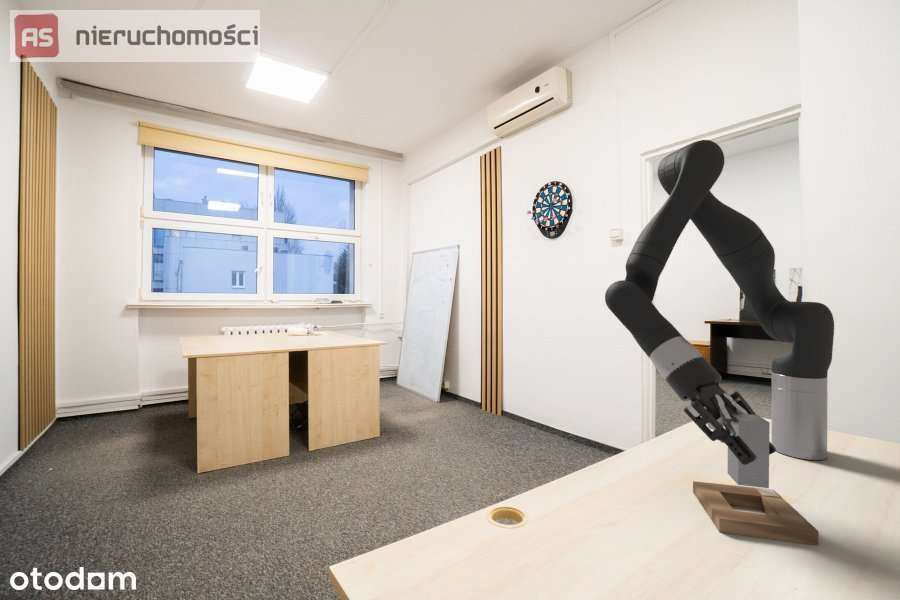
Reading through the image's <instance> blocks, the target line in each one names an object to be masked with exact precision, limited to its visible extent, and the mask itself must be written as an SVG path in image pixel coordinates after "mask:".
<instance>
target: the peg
mask: <svg viewBox="0 0 900 600" xmlns="http://www.w3.org/2000/svg"><path fill="white" fill-rule="evenodd" d="M729 414H730V417H731V419H732V421H731V425H732V427H733V428H734V430H735V432H736V436H739V437H740V438H741V439H742V440H743V441H744V443H745V444H746V445H747V446H748V447H749V448H750V450H751V451H752V452H753V453H754V454H755V455H756V460H755V461H753V462H751V463H749V464H747V465H744V464H742V463H741V462H740V461H739V460H738V458H737V457H736V456H735V455H734V454H733V452H732V451H731V450H730V449H729V447H728V446H727V475H728V476H729V477H730V478H731V479H732V480H733V481H734V482H735V483H736V485H737V486H744V487H753V488H763V489H770V487H769V486H770V484H769V483H770V455H769V441H770V433H771V432H770V429H771V428H770V426H771V424H770V423H771V422H769V421H768V420H766V419H764V418H763V417H762V416H760V415H758V414H756V415H754V414H748V413H747V414H739V413H729ZM736 436H735V437H736Z"/></svg>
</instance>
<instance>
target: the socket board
mask: <svg viewBox="0 0 900 600" xmlns="http://www.w3.org/2000/svg"><path fill="white" fill-rule="evenodd" d="M692 493H693V495H694V496H695V497H696V498H695V499H697V500H698V503H700V505H701V507H702V508H703V510H704V511H705V512H706V514H707V516H708V517H709V518H710V520H711V522H712V524H714V526H715V527H716V529H717V531H718V532H719V533H724V534H725V533H726V534H731V535H738V536H747V537H755V538H761V539H770V540H777V541H783V542H791V543H798V544H805V545H806V544H807V545H813V546H819V530H818V529H817V528H816V527H815V526H813V525H812V523H810V522H809V521H808V520H807V519H806V518H805V517H804V516H803V515H802V514H800V513H799V512H798V511H797V510H796V509H795V508H794V507H793V506H792V505H791V504H790V503H789V502H788V501H786V500H785V499H784V498H783V497H782V496H781V495H780V494H779V493H778V492H777V491H776V490H775V489H770V488H762V487H753V486H744V485H735V484H734V485H733V484H724V483H713V482H706V481H705V482H704V481H696V480H695V481H694V480H693V481H692ZM731 505H732V506H737V507H738V506H739V507H746V508H757V509H761V510H762V511H763V512H764V513H757V512H750V511H749V512H748V511H741V510H734V507H732V506H731Z"/></svg>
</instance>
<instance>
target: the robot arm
mask: <svg viewBox="0 0 900 600" xmlns="http://www.w3.org/2000/svg"><path fill="white" fill-rule="evenodd" d="M724 166H725V155H724V151H723V149H722V148H721V146H720V145H719V144H718V143H717V142H715V141H712V140H709V139H701V140H696V141H694V142H691V143H689V144H687V145H685V146H683V147H680V148H679V149H677V150H674V151H673V152H671V153H669V154H667V155H666V156H665V157H663V158H662V159H661V161H659V163H658V167H657V177H658V178H657V179H658V180H659V184H660V186H661V187H662V188H663V190H664V191H665V192H666V193H667V195H668V198H667V199H666V201H665V202H664V204H662V206H661V207H660V209H659V210H658V211H657V212H656V213H655V214H654V216H653V217H652V218H651V219H650V220H649V221H648V222H647V224H646V225H645V226H644V228H643V230H642V231H641V232H640V234H639V235H638V236H637V237H638V238H637V239H636V241H635V243H634V245H633V247H632V249H631V251H630V254H628V257H627V260H626V263H625V272H626V273H625V278H624V279H623V280H617V281H614V282H613V283H611V284H609V286H608V287H607V289H606V291H605V295H604V300H605V304H606V307H607V308H608V309H609V310H610V312H611V313H612V314H613V315H614V316H615V318H617V320H619V322H620V323H621V324H622V326H624V328H626V329H627V330H628V331H629V333H630V334H631V335H632V337H633V338H634V341H635V342H636V343H637V345H638V346H639V347H640V348H641V350H642V351H643V352H644V353H645V355H646V356H647V357H648V359H649V360H650V361H651V362H652V364H653V366H654V368H655V369H656V370H657V372H658V373H659V374H660V375H661V377H662V378H663V380H664V381H666V382H667V384H668V385H669V387H670V388H671V389H672V390H673V392H674V393H675V394H676V396H677V397H678V398H679V400H682V401H683V402H688V401H690V402H691V403H690V404H688V405H687V406H686V407H685V408H684V407H683V411H684V413H685V414H686V415H687V416H688V417H689V418H690V419H691V420H692V422H694V424H695V425H697V427H698V428H699V429H700V430H701V431H702V432H703V433H704V434H705V435H706V436H707V437H708V439H709V440H711V441H712V442H715V441H719V442H720V443H722V444H725V445H726V446H727V448H728V447H729V449H730V450H731V451H732V452H733V454H734V455H735V456H736V457H737V458H738V460H739V461H740V462H741V463H742V464H744V465H747V464H749V463H751V462H753V461H755V460H756V455H755V454H754V453H753V452H752V451H751V450H750V448H749V447H748V446H747V445H746V444H745V443H744V441H743V440H742V439H741V438H740V437H739V436H736V432H735V430H734V428H733V427H732V425H731V421H732V419H731V417H730V414H729V413H739V414H754V415H757V414H756V412H755V411H754V410H753V408H752V407H751V406H750V405H749V403H748V402H747V401H746V399H744V397H743V396H742V394H741V393H740V392H738V391H735V390H734V391H733V392H732V393H728V392H727V391H725V390H724V389H723V388H722V387H721V386H720V383H721V381H722V375H721V374H720V373H719V371H717V369H716V368H715V367H714V366H713V365H712V364H711V363H710V362H709V361H708V360H707V359H706V358H705V356H703V354H702V353H701V352H700V351H699V350H698V349H697V348H696V347H695V346H694V345H693V344H692V343H691V342H690V341H688V339H686V338H685V337H684V336H683V334H681V333H680V331H678V329H677V328H676V327H675V326H674V325H673V324H672V323H671V322H670V321H669V320H668V319H667V318H666V317H665V316H663V314H662V313H661V312H660V311H659V310H658V309H657V307H656V306H655V304H654V303H653V300H654V298H655V295H656V291H657V287H658V283H659V280H660V279H659V278H660V276H661V274H662V272H663V271H664V269H665V268H666V265H667V262H668V261H669V258H670V256H671V254H672V253H673V250H674V248H675V246H676V244H677V241H678V240H679V237H681V234H682V233H683V231H684V229H685V228H686V227H687V225H688V223H689V221H691V222H692V223H693V225H694V226H695V227H696V229H697V230H698V232H699V233H700V234H701V235H702V237H703V238H704V239H705V241H706V242H707V243H708V245H709V246H710V248H711V249H712V251H713V252H714V254H715V255H716V257H717V259H718V260H719V262H721V264H722V265H723V267H724V268H725V269H726V271H727V272H728V273H729V275H730V276H731V278H732V279H733V280H734V282H735V283H736V284H737V286H738V288H739V289H740V291H741V292H742V293H743V295H744V297H745V298H746V300H747V301H748V303H749V306H750V308H751V309H752V311H753V313H754V315H755V317H756V319H757V320H758V322H759V324H760V326H761V328H762V329H763V331H764V332H765V333H766V334H767V335H768V336H769V337H770V338H772V339H773V340H776V341H778V342H779V341H780V342H782V343H783V342H784V343H791V344H792V349H791V352H790V353H789V354H788V355H786V356H783V357H777V358H774V359H773V360H772V361H771V428H770V429H771V432H770V433H771V434H770V435H771V440H769V456H770V455H772V454H774V453H776V452H778V453H781V454H784V455H786V456H788V457H789V456H790V457H791V458H792V457H793V458H798V459H802V460H803V459H804V460H810V461H823V460H827V458H828V371H829V368H830V366H831V365H832V360H833V350H834V349H833V348H834V337H835V336H834V334H835V319H834V316H833V313H832V311H831V310H830V308H829V307H828V306H827V305H825V304H824V303H822V302H818V301H817V302H816V301H792V300H791V301H789V300H788V299H786V298H785V296H784V295H783V294H782V293H781V292H780V290H779V288H778V286H777V284H776V283H775V281H774V272H775V264H776V263H775V262H776V253H775V248H774V246H773V245H772V244H771V242H770V241H769V238H767V237H766V235H765V233H764V232H763V230H762V229H761V227H760V226H758V224H757V223H756V222H755V221H754V220H752V219H751V218H749V217H748V216H746V215H745V214H743V213H741V212H739V211H738V210H735V209H734V208H732V207H731V206H729V205H728V204H726V203H723V202H722V201H720V200H719V198H717V197H716V196H715V195H714V194H713V193H712V192H711V190H712V188H713V186H714V185H715V183H716V182H717V181H718V179H719V177H720V176H721V174H722V172H723V169H724ZM735 436H736V437H735Z"/></svg>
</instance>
